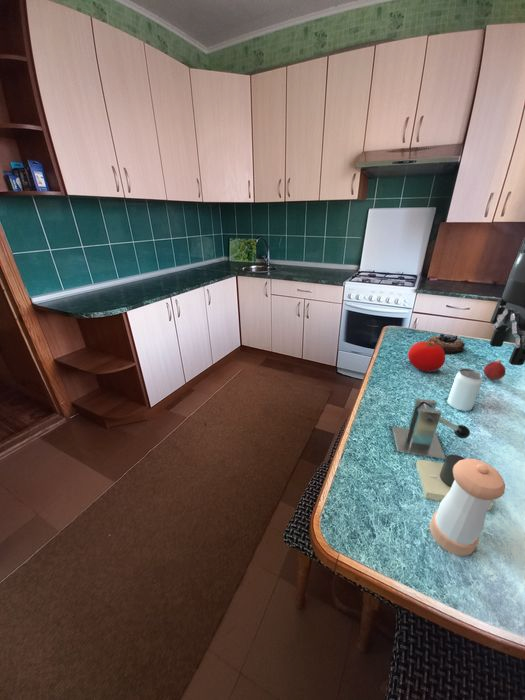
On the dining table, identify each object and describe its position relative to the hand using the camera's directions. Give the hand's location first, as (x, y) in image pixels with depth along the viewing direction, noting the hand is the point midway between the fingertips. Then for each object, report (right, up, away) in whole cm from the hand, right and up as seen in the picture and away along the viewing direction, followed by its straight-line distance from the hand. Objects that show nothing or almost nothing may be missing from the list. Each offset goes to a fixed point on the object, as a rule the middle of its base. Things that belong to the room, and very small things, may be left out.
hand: (504, 354), depth 62 cm
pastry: (+27, +2, +63) cm, 69 cm away
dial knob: (-11, -27, +1) cm, 29 cm away
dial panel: (-10, -30, +2) cm, 32 cm away
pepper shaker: (-16, -35, -7) cm, 39 cm away
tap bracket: (-11, -24, +14) cm, 30 cm away
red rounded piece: (+29, -10, +41) cm, 51 cm away
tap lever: (-8, -18, +10) cm, 22 cm away
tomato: (+10, -6, +49) cm, 50 cm away
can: (+9, -17, +28) cm, 34 cm away
